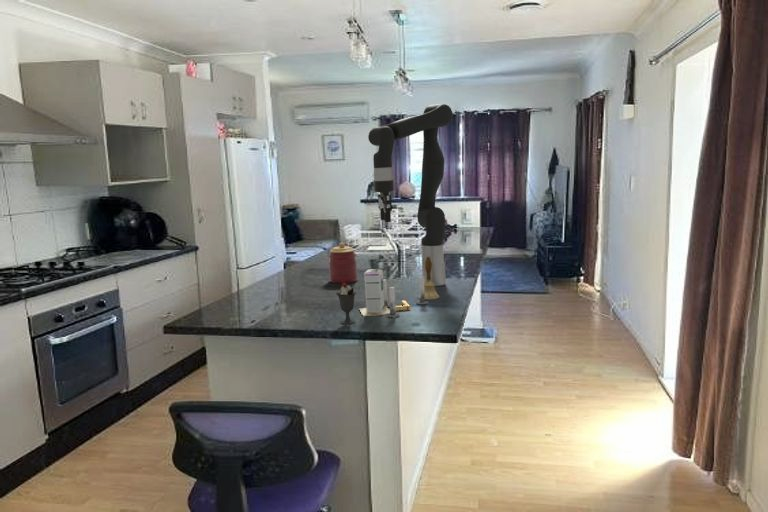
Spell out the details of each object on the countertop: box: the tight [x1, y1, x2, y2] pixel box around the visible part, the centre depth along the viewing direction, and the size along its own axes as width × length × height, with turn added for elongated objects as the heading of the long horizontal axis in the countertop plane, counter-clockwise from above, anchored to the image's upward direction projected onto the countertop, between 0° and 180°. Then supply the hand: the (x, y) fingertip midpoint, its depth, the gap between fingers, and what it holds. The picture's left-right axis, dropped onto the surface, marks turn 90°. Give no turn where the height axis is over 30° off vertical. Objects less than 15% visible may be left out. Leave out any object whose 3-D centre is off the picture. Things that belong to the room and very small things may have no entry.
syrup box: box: [363, 268, 385, 313], centre depth 200 cm, size 6×6×14 cm
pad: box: [358, 307, 390, 317], centre depth 201 cm, size 10×10×1 cm
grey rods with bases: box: [383, 276, 429, 318], centre depth 203 cm, size 18×18×10 cm
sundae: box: [335, 278, 357, 325], centre depth 188 cm, size 7×7×15 cm
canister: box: [327, 242, 359, 284], centre depth 257 cm, size 13×13×18 cm
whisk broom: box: [417, 257, 440, 301], centre depth 220 cm, size 8×8×16 cm
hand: (385, 221), depth 223 cm, fingers open, 8 cm apart
